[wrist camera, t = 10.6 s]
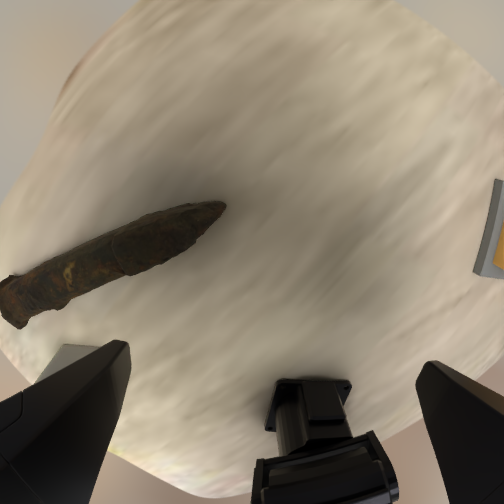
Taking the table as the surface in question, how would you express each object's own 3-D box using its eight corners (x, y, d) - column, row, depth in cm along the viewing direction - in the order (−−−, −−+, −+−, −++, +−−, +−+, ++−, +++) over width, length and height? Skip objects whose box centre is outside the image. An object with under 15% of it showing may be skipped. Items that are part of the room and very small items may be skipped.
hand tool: (35, 312, 21) (7, 341, 17) (14, 272, 20) (-19, 295, 15) (240, 242, 20) (240, 270, 15) (218, 183, 18) (211, 194, 14)
